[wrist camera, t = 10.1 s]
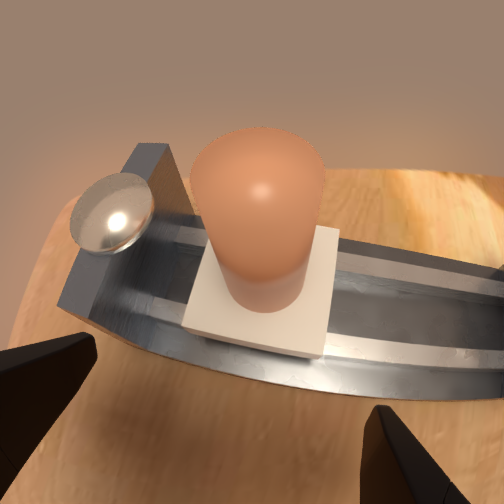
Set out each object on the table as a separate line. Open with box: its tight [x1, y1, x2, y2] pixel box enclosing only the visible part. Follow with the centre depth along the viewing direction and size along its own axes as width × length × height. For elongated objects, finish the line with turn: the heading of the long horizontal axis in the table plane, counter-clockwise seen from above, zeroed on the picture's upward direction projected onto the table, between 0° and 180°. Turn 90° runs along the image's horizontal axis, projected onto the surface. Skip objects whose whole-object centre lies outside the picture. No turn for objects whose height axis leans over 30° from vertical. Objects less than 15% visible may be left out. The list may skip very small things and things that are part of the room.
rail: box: [57, 143, 504, 401], centre depth 15 cm, size 30×10×9 cm, turn 77°
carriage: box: [181, 127, 339, 360], centre depth 13 cm, size 7×7×9 cm
